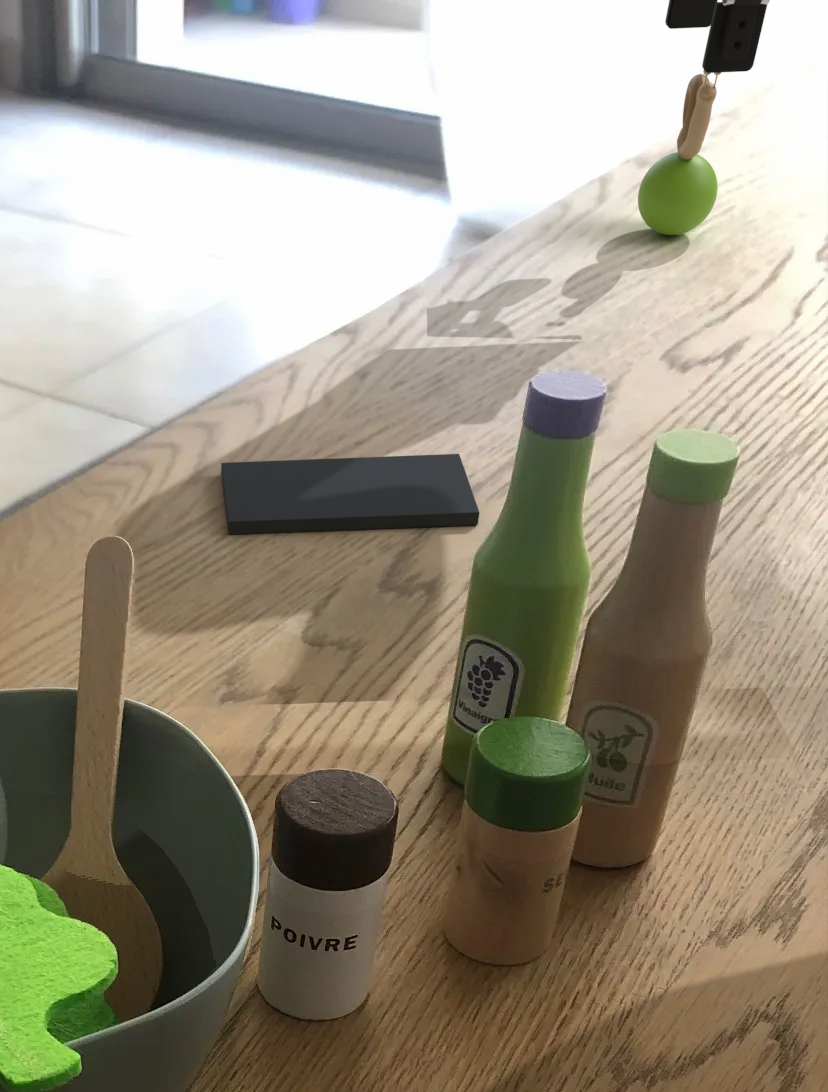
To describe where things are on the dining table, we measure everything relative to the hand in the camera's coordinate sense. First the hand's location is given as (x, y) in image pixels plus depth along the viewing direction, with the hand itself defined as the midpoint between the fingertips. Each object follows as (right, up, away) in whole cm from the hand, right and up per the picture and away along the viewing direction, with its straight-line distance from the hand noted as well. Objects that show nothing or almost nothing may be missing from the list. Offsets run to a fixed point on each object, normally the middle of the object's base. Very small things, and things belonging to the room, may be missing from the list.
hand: (706, 48), depth 111 cm
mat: (-27, -36, -17) cm, 49 cm away
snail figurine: (+1, -9, +9) cm, 12 cm away
